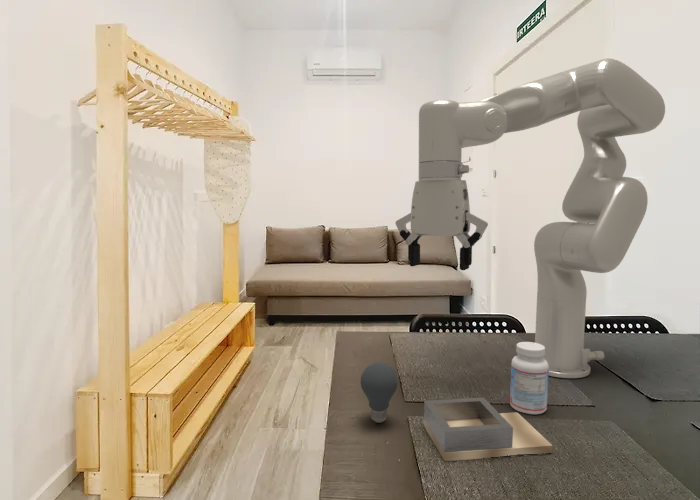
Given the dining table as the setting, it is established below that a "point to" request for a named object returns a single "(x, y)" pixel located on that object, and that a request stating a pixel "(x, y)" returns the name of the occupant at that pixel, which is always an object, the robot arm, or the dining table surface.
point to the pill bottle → (529, 379)
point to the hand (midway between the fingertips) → (438, 267)
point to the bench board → (523, 443)
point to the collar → (467, 437)
